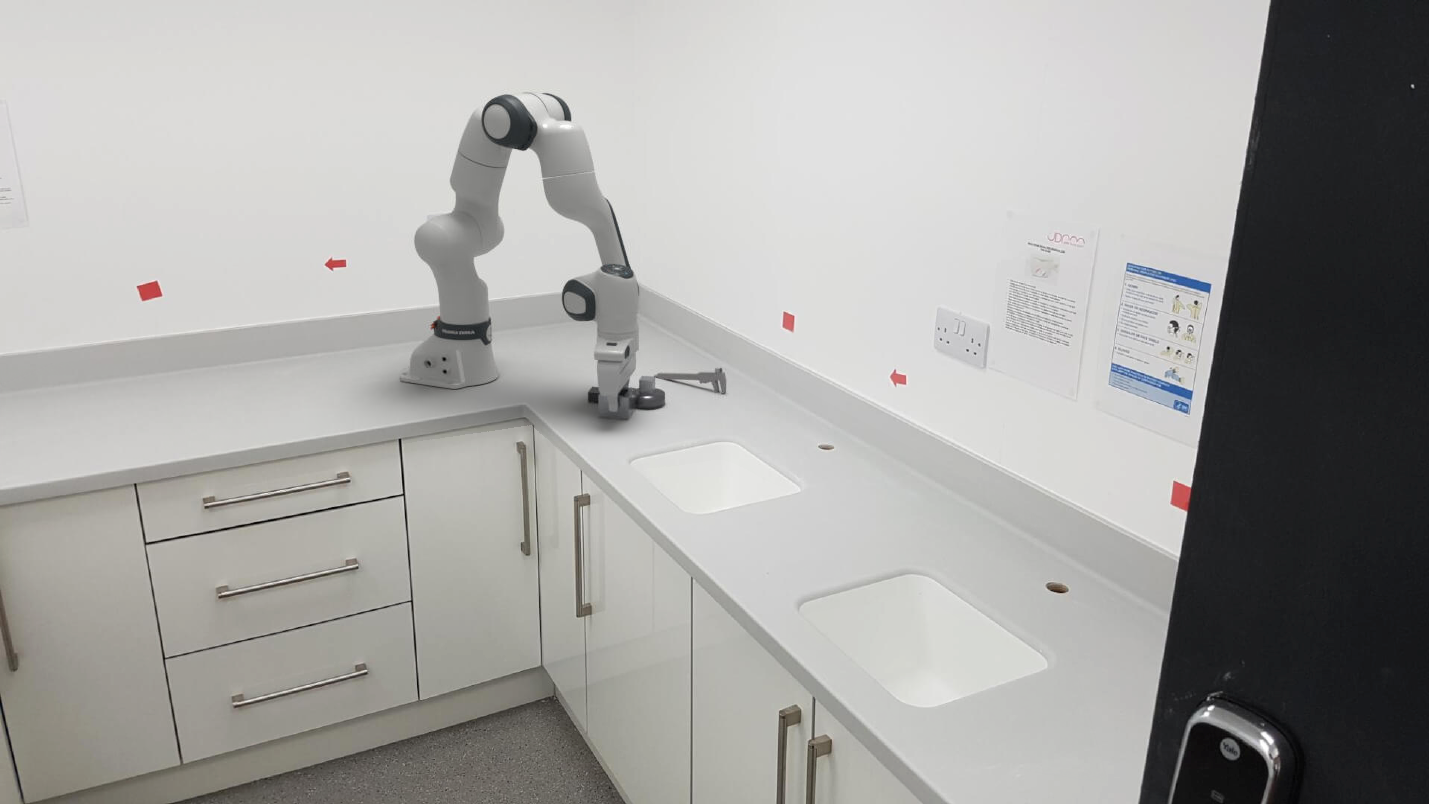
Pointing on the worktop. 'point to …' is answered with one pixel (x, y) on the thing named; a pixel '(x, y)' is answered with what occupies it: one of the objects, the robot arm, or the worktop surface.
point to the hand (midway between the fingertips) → (618, 403)
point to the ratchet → (639, 395)
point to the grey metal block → (625, 405)
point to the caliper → (699, 378)
